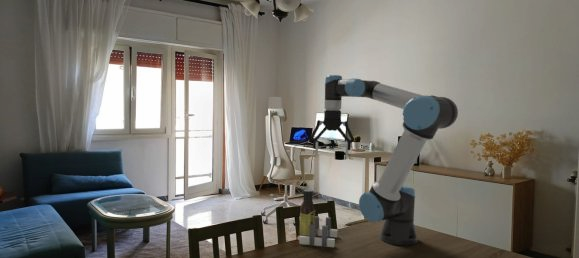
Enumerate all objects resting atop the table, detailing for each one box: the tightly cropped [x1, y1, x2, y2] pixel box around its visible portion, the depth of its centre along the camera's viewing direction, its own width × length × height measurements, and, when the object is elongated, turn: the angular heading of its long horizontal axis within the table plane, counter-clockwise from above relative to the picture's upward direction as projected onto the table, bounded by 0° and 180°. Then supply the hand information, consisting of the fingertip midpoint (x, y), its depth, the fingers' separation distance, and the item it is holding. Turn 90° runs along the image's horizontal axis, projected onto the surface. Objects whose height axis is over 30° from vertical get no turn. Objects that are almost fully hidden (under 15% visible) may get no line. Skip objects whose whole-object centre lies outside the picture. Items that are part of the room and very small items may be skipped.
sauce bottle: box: [299, 189, 316, 237], centre depth 164 cm, size 7×6×20 cm
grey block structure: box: [298, 215, 338, 248], centre depth 163 cm, size 14×13×8 cm
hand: (331, 156), depth 179 cm, fingers open, 13 cm apart
